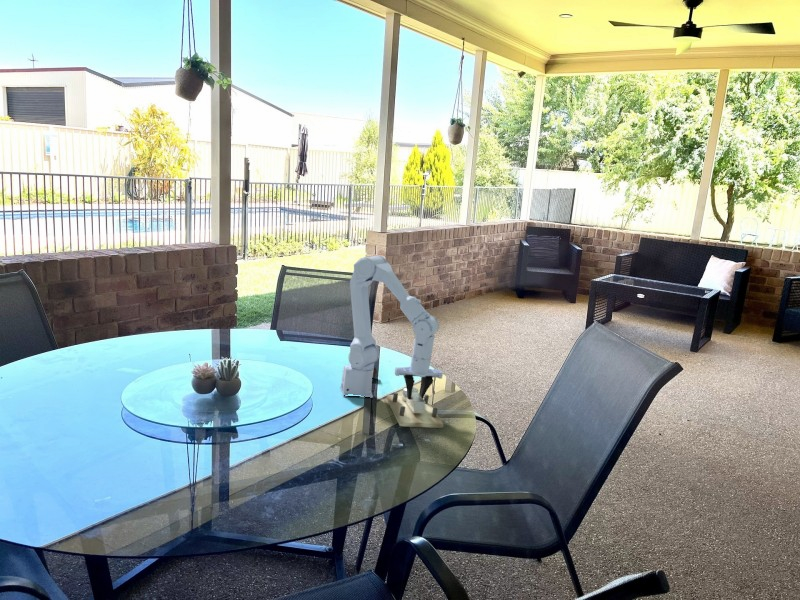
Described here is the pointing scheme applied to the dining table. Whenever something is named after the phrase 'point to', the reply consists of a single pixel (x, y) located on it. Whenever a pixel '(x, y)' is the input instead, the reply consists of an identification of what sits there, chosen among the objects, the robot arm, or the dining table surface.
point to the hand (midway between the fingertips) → (414, 398)
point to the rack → (414, 419)
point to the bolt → (374, 372)
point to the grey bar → (414, 401)
